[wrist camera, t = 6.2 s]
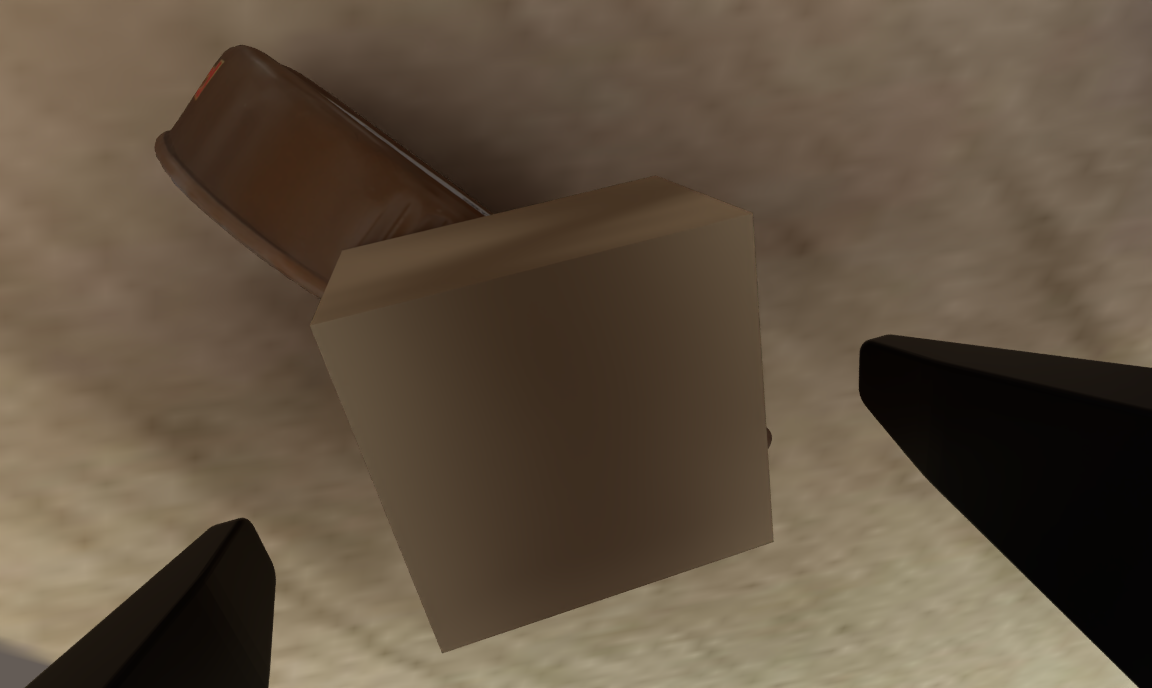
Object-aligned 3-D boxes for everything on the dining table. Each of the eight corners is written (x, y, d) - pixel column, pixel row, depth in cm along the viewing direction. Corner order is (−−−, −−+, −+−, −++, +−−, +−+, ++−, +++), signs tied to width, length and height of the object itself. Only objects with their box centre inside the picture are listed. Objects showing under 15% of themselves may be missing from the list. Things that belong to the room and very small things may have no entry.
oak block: (655, 175, 10) (752, 212, 7) (688, 432, 12) (773, 541, 9) (342, 251, 9) (309, 325, 6) (435, 509, 11) (442, 653, 9)
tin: (219, 135, 16) (34, 183, 8) (287, 29, 15) (160, -26, 8) (639, 417, 22) (758, 594, 14) (697, 349, 21) (853, 494, 14)
